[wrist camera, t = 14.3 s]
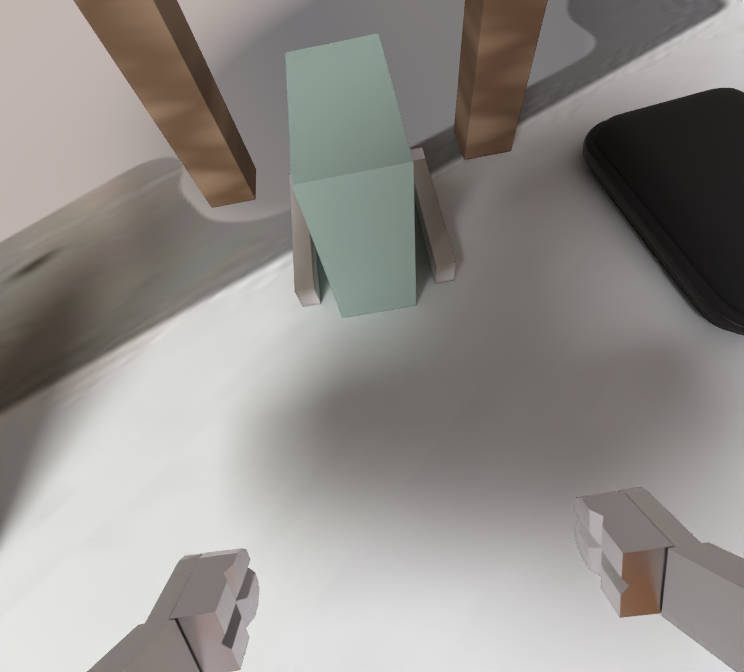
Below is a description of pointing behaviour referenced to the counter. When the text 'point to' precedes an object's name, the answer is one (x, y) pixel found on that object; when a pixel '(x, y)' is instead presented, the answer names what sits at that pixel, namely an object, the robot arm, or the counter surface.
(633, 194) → the carrying case or bag
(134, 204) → the counter surface
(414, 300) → the sage rectangular block
